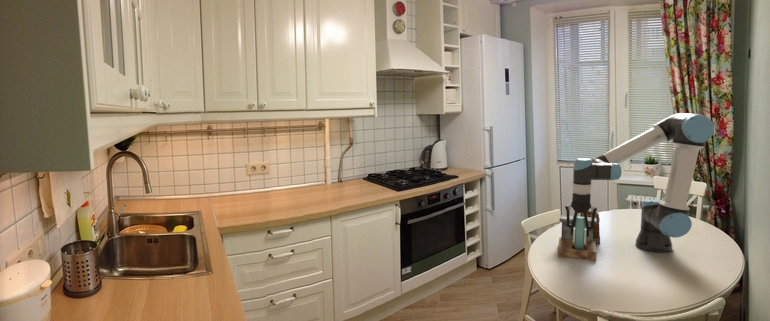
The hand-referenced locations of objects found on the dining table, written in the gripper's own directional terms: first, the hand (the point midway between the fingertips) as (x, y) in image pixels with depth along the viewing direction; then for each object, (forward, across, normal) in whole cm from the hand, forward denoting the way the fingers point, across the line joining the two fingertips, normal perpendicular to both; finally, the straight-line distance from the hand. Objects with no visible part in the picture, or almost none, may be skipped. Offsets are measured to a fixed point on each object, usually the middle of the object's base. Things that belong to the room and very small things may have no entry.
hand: (579, 242), depth 206 cm
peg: (+4, 0, 0) cm, 4 cm away
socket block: (+6, +1, -4) cm, 8 cm away
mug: (+6, -4, -24) cm, 26 cm away
